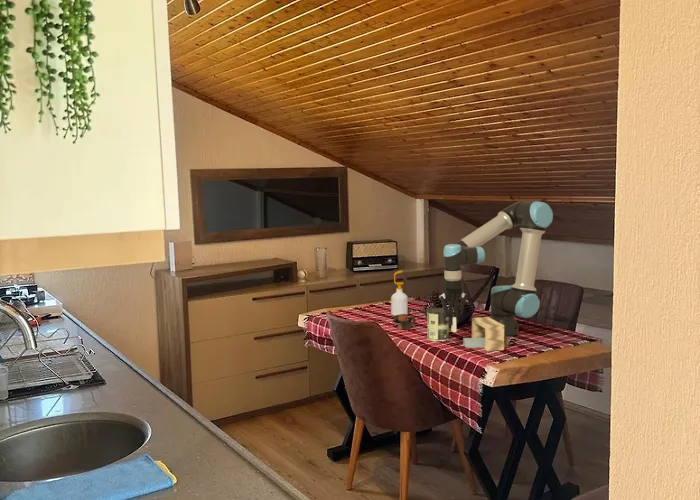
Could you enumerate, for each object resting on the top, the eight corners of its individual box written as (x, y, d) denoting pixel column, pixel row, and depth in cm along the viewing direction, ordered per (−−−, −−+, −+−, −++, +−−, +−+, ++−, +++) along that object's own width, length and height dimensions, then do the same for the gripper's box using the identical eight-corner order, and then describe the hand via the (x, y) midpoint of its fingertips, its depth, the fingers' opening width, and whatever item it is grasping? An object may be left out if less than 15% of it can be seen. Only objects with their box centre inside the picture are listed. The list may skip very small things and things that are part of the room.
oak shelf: (495, 339, 315) (496, 316, 313) (512, 349, 297) (512, 324, 296) (471, 341, 312) (471, 317, 311) (486, 350, 295) (487, 326, 293)
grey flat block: (493, 344, 308) (493, 337, 307) (496, 348, 301) (496, 341, 300) (463, 344, 308) (463, 338, 308) (465, 348, 301) (465, 341, 301)
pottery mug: (392, 331, 336) (389, 315, 339) (397, 335, 344) (394, 320, 347) (415, 325, 333) (412, 310, 336) (419, 330, 341) (416, 315, 345)
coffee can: (449, 337, 320) (449, 307, 319) (448, 342, 310) (448, 312, 309) (427, 336, 322) (428, 307, 321) (426, 341, 312) (426, 311, 311)
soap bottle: (408, 316, 368) (408, 271, 365) (391, 316, 368) (391, 271, 365) (407, 312, 377) (407, 269, 374) (390, 313, 377) (390, 269, 374)
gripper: (463, 277, 303) (464, 328, 305) (436, 279, 300) (437, 330, 303) (470, 279, 295) (470, 332, 298) (441, 281, 293) (442, 334, 296)
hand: (453, 331), depth 301 cm, fingers closed
